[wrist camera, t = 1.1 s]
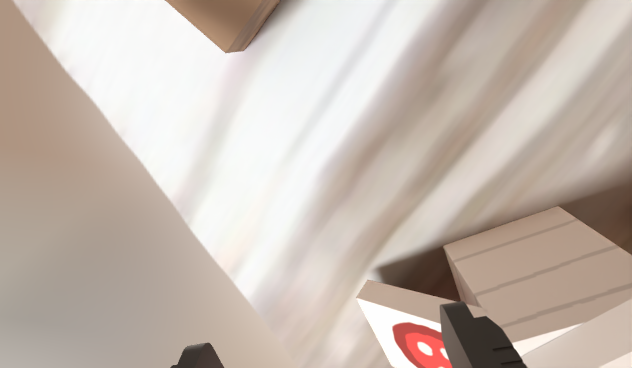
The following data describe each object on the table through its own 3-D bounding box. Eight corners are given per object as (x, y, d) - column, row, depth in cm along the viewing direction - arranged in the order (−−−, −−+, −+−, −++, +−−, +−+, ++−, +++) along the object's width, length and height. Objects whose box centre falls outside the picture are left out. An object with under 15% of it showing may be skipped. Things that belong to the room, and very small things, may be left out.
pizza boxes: (347, 267, 42) (369, 408, 26) (574, 187, 37) (777, 299, 21) (390, 351, 50) (428, 503, 33) (584, 294, 45) (741, 438, 28)
